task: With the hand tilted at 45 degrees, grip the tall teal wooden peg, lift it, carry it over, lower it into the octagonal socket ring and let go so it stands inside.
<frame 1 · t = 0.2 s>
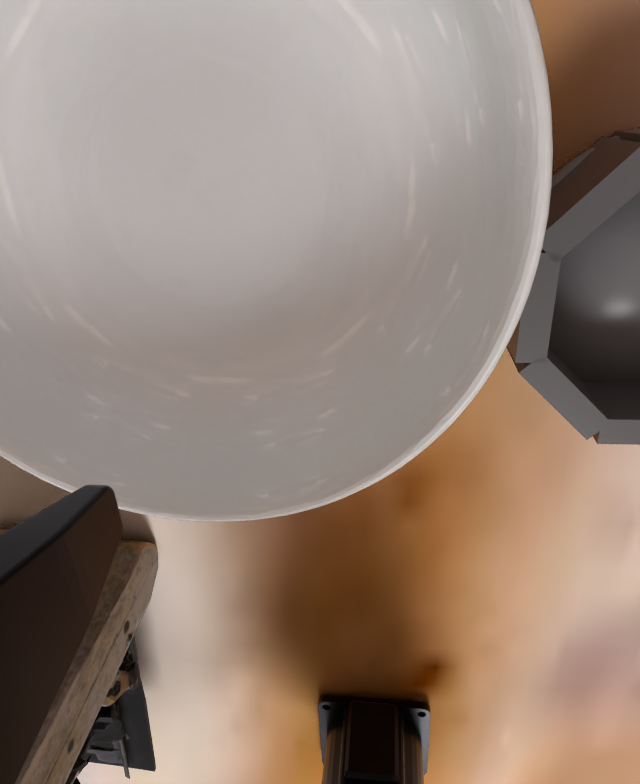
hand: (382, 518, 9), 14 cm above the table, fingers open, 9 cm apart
vintage camera: (99, 619, 33), on the table
serving bowl: (218, 188, 21), on the table
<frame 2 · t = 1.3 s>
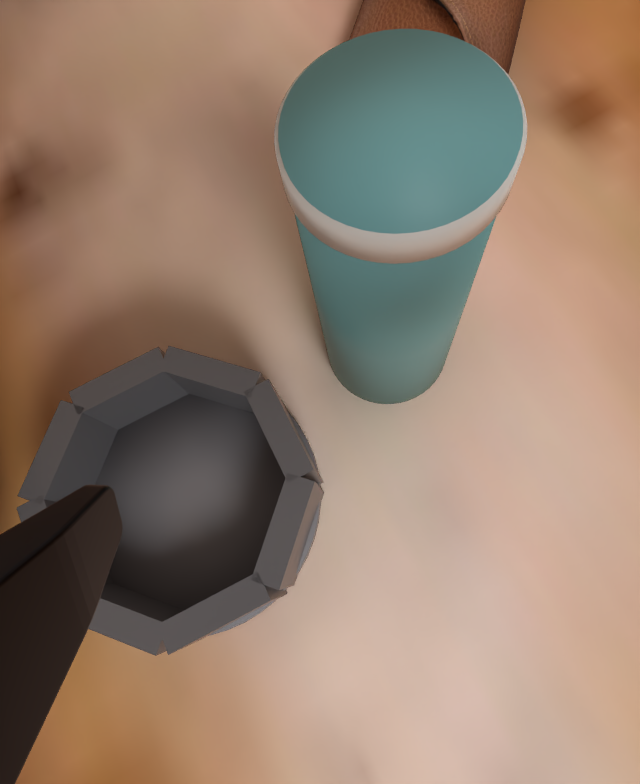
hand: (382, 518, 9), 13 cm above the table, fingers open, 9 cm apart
socket ring: (193, 498, 23), on the table
teal peg: (386, 347, 24), on the table
sunglasses case: (439, 10, 30), on the table
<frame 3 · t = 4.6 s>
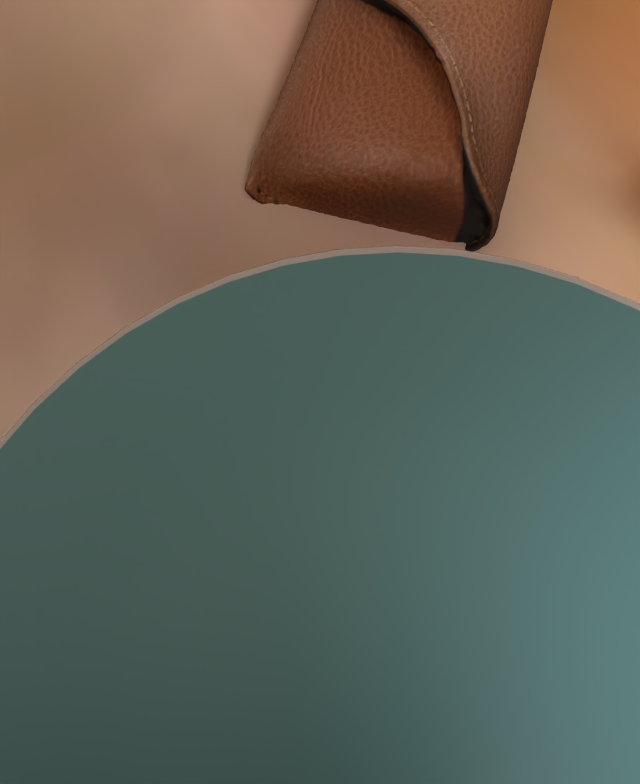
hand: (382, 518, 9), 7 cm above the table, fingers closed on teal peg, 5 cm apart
teal peg: (379, 589, 15), on the table, touching gripper
sunglasses case: (422, 34, 21), on the table
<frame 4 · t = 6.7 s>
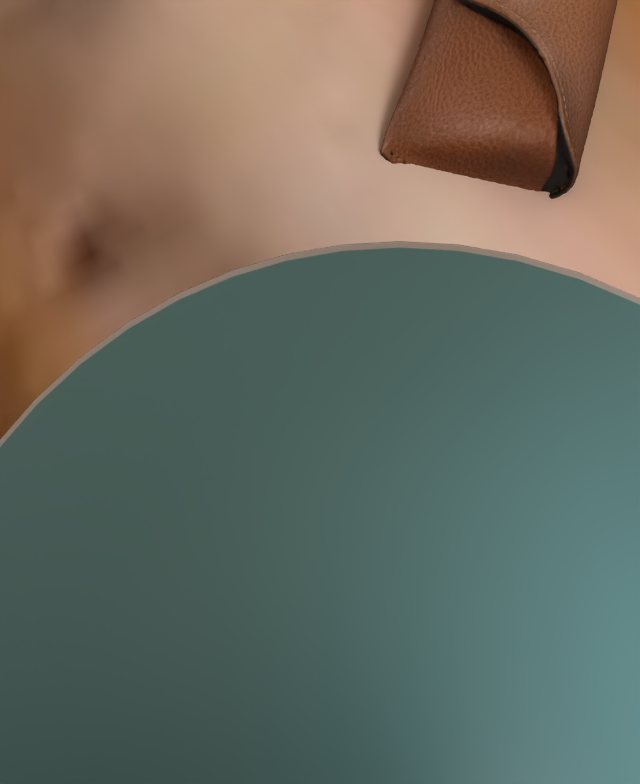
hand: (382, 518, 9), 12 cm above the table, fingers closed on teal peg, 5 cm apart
teal peg: (379, 588, 15), point 6 cm above the table, touching gripper
sunglasses case: (507, 35, 27), on the table
when the fingers open (8 cm above the table, at t = 8.9 s): teal peg stays where it is, resting on socket ring.
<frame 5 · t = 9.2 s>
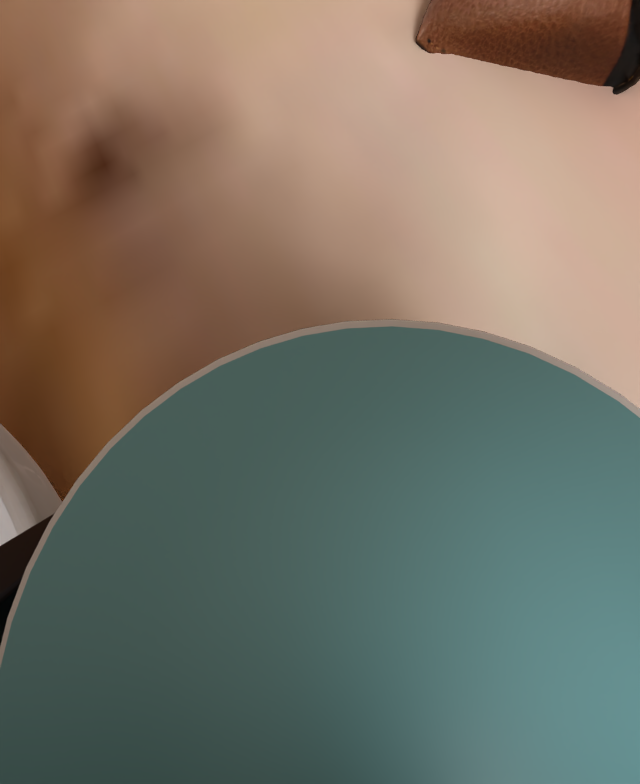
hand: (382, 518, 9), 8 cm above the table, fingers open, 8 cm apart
teal peg: (378, 589, 16), point 1 cm above the table, touching socket ring
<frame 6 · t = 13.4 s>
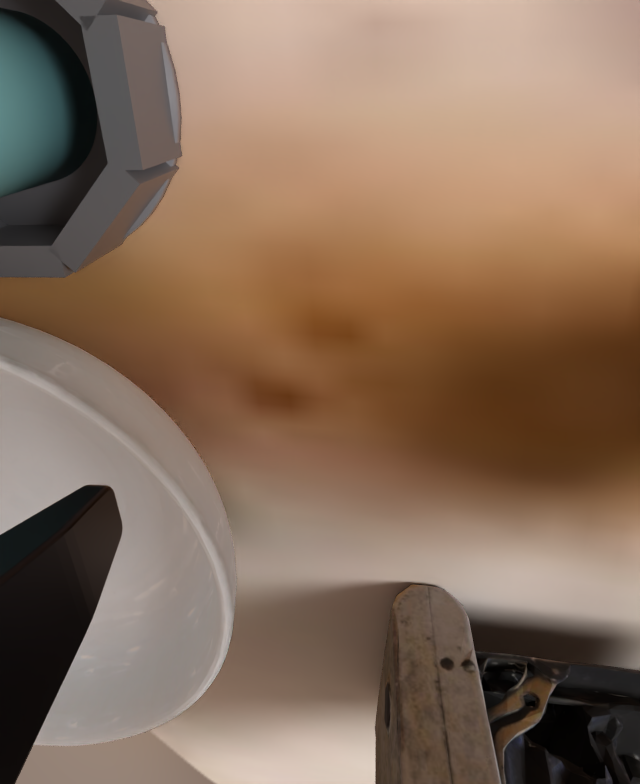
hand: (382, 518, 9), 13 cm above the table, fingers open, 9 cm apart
vintage camera: (531, 651, 29), on the table
serving bowl: (51, 471, 27), on the table
socket ring: (28, 99, 19), on the table
teal peg: (22, 101, 18), point 1 cm above the table, touching socket ring
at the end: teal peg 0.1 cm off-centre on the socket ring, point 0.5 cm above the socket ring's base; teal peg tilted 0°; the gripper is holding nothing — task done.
